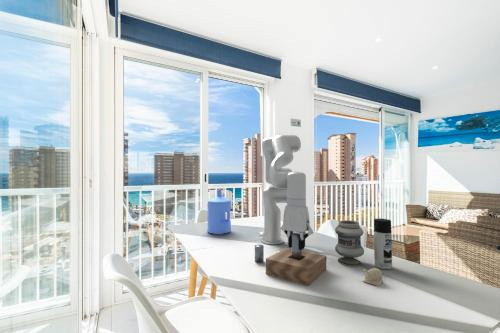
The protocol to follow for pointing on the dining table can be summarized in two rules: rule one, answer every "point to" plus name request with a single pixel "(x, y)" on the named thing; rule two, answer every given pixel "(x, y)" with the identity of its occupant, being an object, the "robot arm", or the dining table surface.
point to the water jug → (219, 214)
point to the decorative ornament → (373, 276)
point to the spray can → (383, 243)
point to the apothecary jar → (349, 242)
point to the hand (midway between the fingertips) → (296, 247)
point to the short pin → (259, 253)
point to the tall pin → (295, 246)
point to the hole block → (296, 266)
